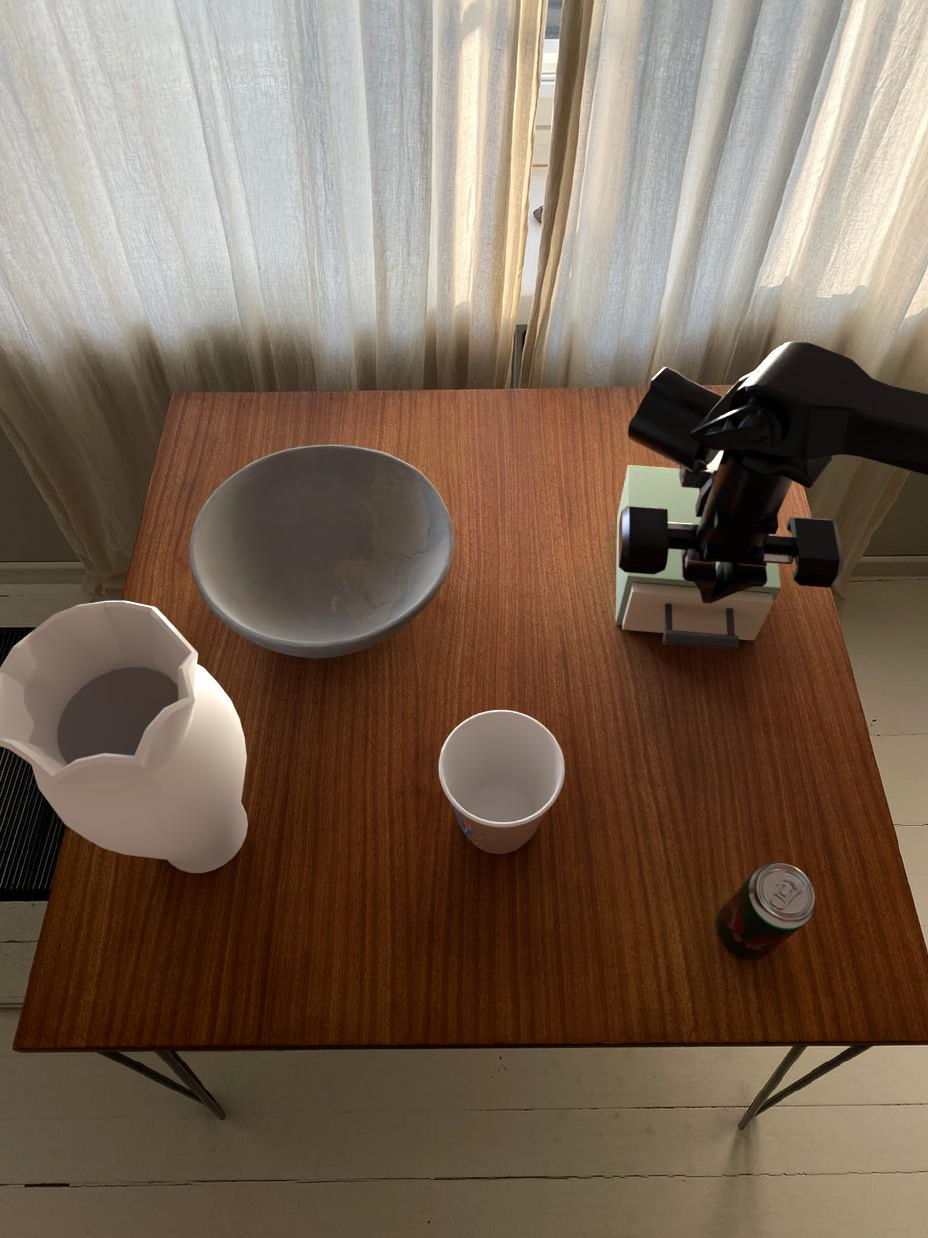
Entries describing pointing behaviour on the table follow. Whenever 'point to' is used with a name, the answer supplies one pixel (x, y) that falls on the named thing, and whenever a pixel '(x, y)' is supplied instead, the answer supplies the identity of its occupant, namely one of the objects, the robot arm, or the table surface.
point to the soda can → (765, 911)
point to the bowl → (321, 549)
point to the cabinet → (668, 493)
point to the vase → (128, 734)
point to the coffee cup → (501, 777)
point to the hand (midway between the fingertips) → (706, 599)
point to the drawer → (695, 615)
